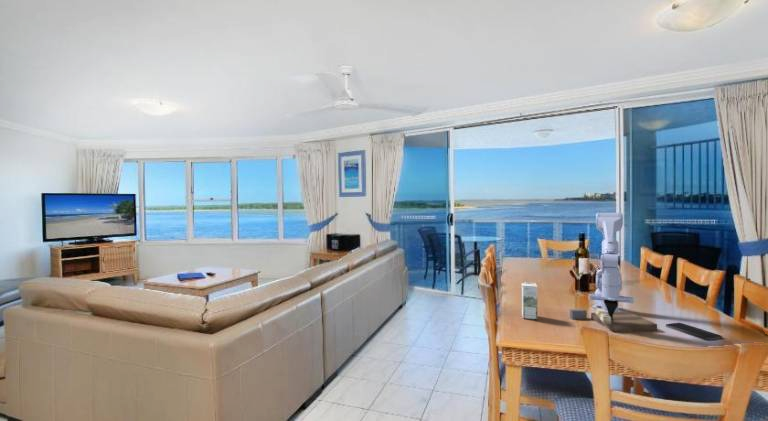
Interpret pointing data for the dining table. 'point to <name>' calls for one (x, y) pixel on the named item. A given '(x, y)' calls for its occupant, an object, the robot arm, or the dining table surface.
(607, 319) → the folding leg
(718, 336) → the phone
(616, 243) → the robot arm
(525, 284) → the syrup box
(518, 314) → the dining table surface
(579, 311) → the stop block
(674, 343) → the dining table surface
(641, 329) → the stool seat
